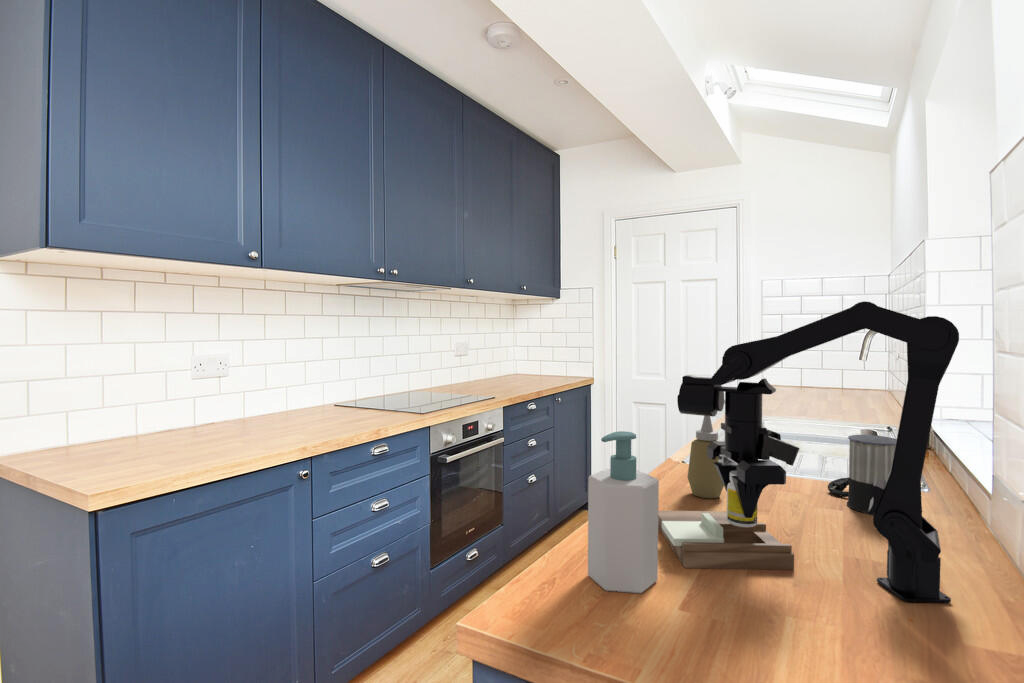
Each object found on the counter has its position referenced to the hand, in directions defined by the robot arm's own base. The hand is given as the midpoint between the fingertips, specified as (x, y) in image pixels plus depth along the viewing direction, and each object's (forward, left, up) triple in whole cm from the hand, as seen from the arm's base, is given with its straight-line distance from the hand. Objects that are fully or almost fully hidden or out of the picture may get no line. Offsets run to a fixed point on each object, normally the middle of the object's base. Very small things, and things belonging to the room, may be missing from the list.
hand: (742, 512), depth 94 cm
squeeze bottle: (+32, -4, -7) cm, 33 cm away
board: (+4, +3, -7) cm, 9 cm away
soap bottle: (-10, +22, -7) cm, 25 cm away
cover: (0, +8, -4) cm, 9 cm away
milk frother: (+28, -36, -7) cm, 46 cm away
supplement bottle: (0, 0, -2) cm, 2 cm away
